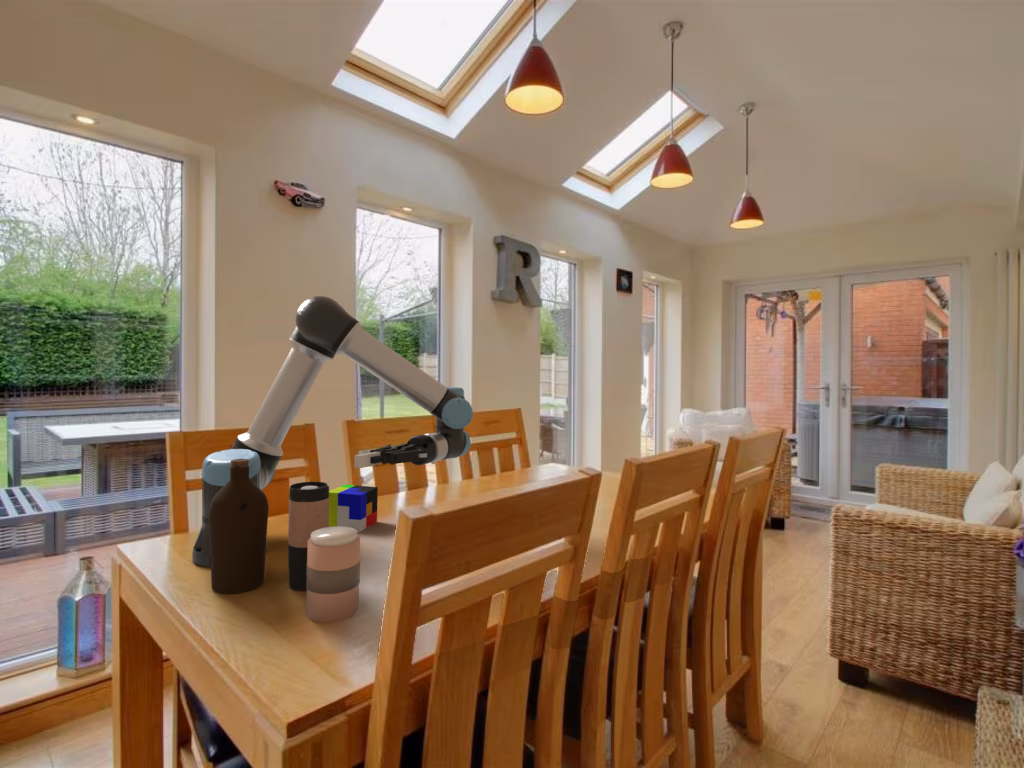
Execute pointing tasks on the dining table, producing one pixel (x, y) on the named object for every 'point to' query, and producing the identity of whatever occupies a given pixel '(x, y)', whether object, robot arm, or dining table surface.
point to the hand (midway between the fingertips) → (356, 461)
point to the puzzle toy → (353, 506)
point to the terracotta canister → (333, 574)
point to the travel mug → (304, 526)
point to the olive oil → (238, 533)
